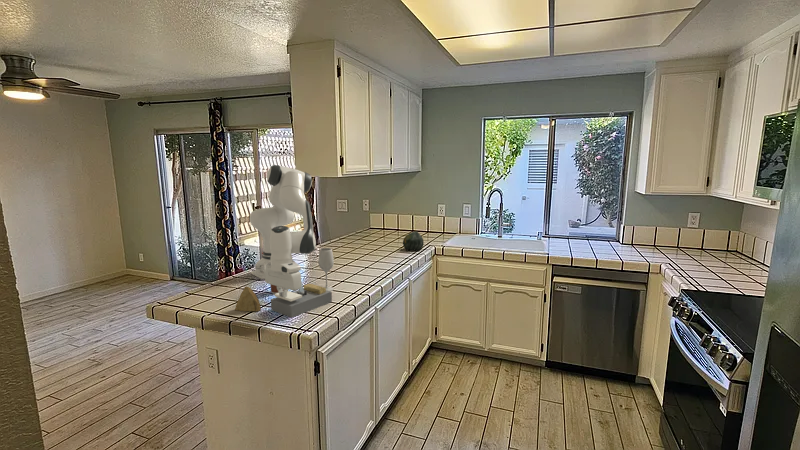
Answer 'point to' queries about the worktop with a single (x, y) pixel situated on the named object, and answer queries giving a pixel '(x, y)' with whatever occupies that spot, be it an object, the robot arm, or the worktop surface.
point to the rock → (248, 301)
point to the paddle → (301, 290)
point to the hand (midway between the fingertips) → (283, 296)
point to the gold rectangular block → (314, 288)
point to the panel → (300, 303)
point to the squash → (413, 241)
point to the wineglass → (326, 263)
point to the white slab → (290, 296)
